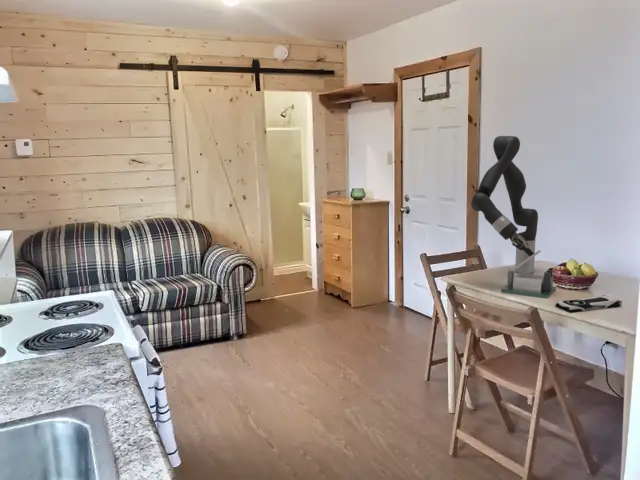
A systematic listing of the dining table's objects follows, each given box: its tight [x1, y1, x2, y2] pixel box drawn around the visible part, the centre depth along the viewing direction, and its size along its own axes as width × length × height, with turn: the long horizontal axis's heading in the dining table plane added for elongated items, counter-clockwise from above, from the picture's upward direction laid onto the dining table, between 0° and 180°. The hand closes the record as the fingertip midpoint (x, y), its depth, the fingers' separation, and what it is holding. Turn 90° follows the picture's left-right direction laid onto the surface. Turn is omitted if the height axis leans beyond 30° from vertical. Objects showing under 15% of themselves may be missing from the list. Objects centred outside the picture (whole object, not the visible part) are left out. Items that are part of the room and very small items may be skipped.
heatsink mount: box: [500, 269, 556, 299], centre depth 246 cm, size 20×16×10 cm
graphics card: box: [554, 294, 623, 314], centre depth 222 cm, size 10×3×25 cm
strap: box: [508, 249, 542, 272], centre depth 246 cm, size 17×3×2 cm
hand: (532, 255), depth 243 cm, fingers closed
